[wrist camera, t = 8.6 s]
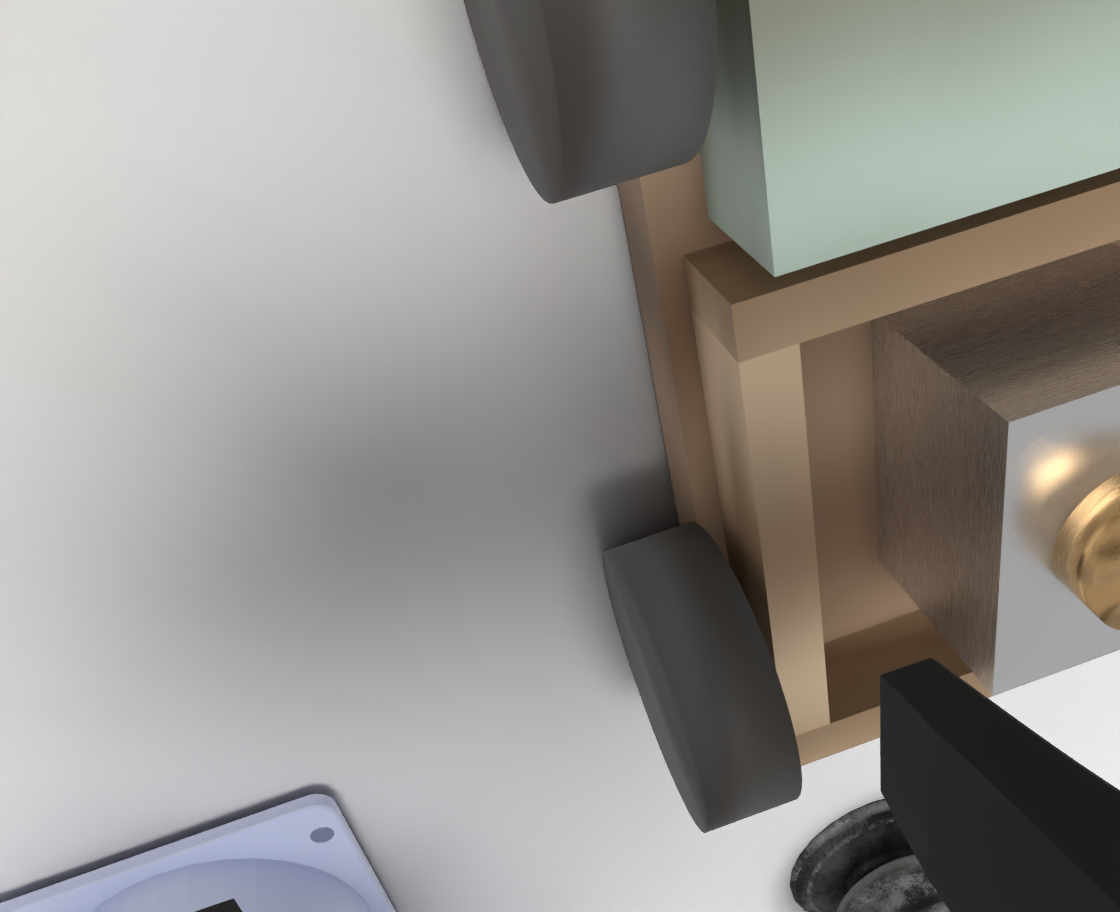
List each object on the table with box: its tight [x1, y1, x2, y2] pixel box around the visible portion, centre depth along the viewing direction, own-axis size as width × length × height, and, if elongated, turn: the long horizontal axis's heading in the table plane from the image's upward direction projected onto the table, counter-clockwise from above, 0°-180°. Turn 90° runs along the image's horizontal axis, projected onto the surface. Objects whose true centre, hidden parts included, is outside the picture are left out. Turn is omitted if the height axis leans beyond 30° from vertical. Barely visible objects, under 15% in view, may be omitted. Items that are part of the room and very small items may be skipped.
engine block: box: [871, 243, 1120, 696], centre depth 18 cm, size 6×4×5 cm
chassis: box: [464, 0, 1120, 833], centre depth 17 cm, size 20×16×6 cm
